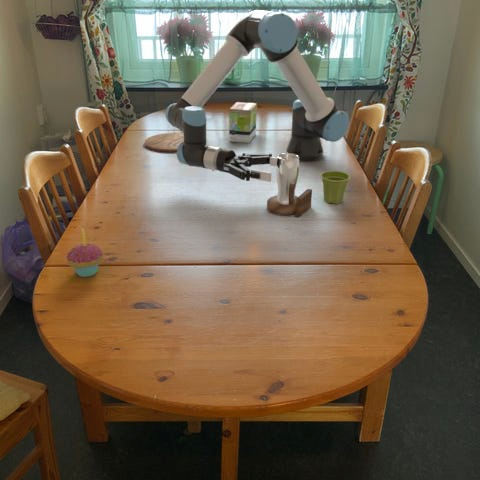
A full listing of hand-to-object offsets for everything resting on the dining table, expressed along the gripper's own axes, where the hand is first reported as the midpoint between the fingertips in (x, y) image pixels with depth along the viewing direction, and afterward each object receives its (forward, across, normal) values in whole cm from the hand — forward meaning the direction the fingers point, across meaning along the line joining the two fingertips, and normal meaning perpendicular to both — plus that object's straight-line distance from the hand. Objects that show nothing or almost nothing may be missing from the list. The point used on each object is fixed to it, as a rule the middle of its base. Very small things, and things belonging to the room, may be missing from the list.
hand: (280, 170), depth 154 cm
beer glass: (+2, 0, -10) cm, 11 cm away
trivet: (-69, -40, -13) cm, 81 cm away
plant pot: (+14, -13, -12) cm, 23 cm away
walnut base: (+2, 0, -12) cm, 12 cm away
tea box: (-46, -63, -12) cm, 80 cm away
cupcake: (-25, +60, -12) cm, 66 cm away
